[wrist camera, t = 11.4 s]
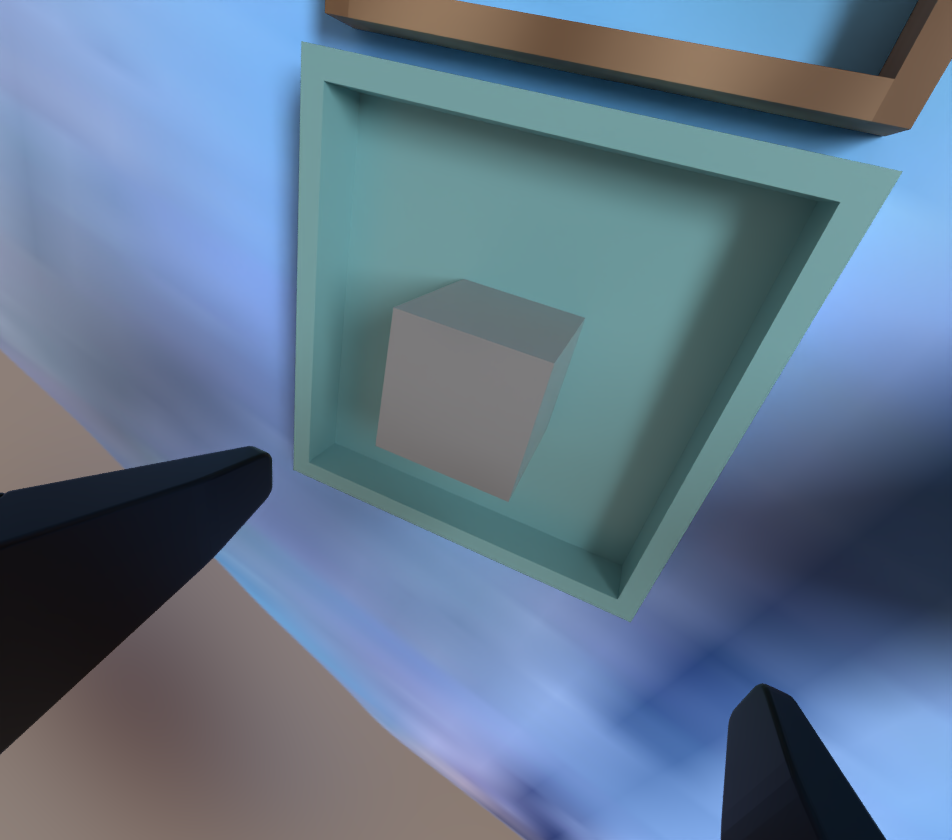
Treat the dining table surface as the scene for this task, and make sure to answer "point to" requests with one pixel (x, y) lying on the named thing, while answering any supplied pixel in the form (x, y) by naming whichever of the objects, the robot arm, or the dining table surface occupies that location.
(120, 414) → the dining table surface
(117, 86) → the dining table surface
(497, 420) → the slate block
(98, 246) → the dining table surface
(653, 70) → the corral
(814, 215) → the bin
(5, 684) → the robot arm
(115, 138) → the dining table surface
